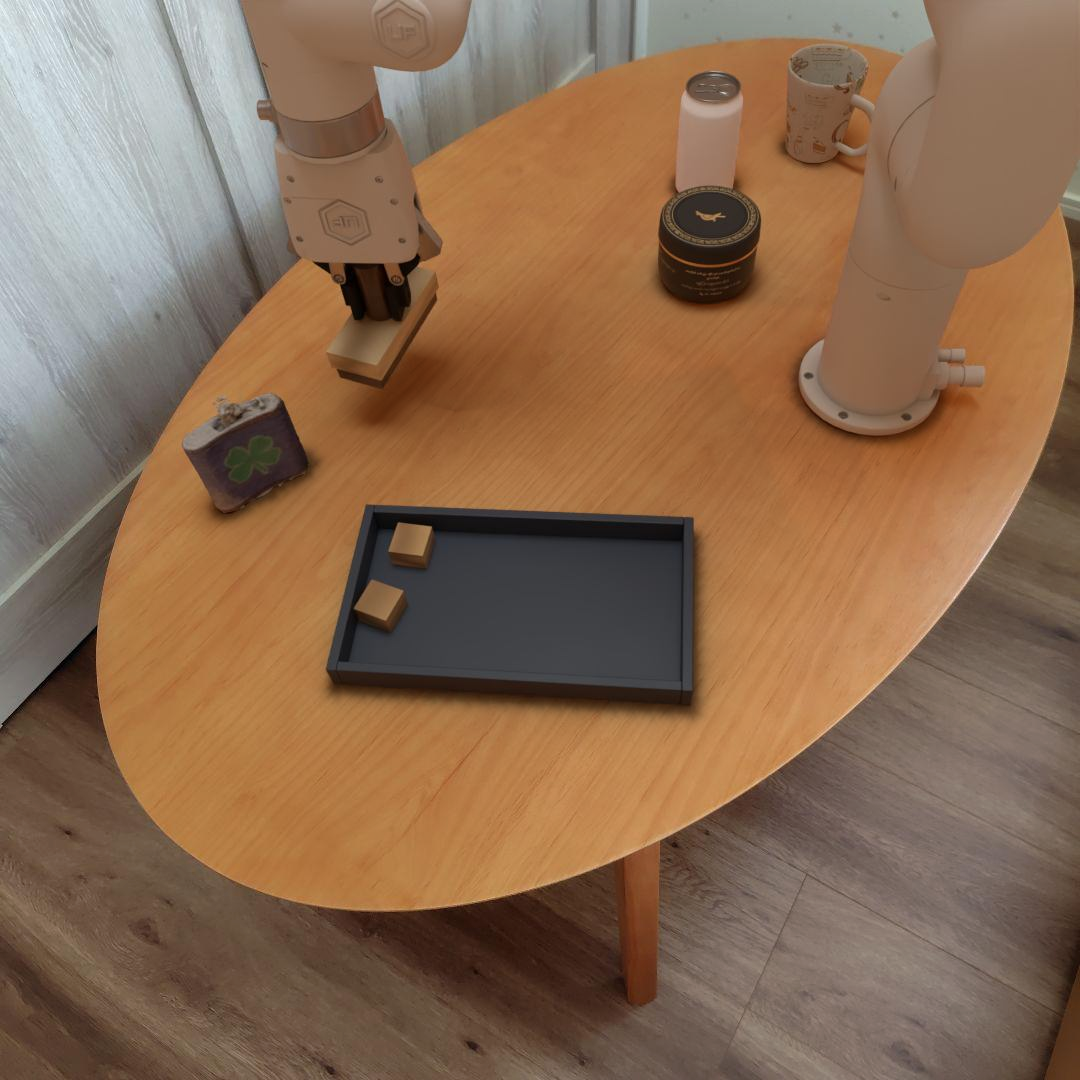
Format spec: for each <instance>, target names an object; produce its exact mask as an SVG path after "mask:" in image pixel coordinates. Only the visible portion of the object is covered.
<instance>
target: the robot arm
mask: <svg viewBox="0 0 1080 1080" xmlns="http://www.w3.org/2000/svg"><path fill="white" fill-rule="evenodd" d="M239 1H240V4H241V7H242V11H243V14H244V17H245V21H246V23H247V27H248V30H249V33H250V37H251V38H252V43H253V45H254V49H255V52H256V56H257V58H258V62H259V66H260V69H261V71H262V75H263V79H264V81H265V85H266V87H267V91H268V95H269V97H268V98H266V99H258V100H257V102H256V114H257V116H258V119H259V120H260V121H269V122H270V123H274V125H275V126H276V128H277V131H278V134H277V135H276V137H275V139H274V141H273V151H274V153H273V154H274V162H275V170H276V176H277V182H278V183H277V184H278V188H279V192H280V193H279V194H280V199H281V203H282V208H283V213H284V217H285V221H286V225H287V228H288V229H287V230H288V233H289V236H288V240H287V244H286V250H287V252H289V253H290V254H293V255H295V256H298V257H300V258H302V259H304V260H307V261H309V262H312V263H313V264H314V265H315V266H317V267H318V268H320V269H322V270H323V271H325V272H326V273H328V274H329V275H330V277H331V280H332V282H334V284H336V285H339V288H340V290H341V293H342V297H343V301H344V304H345V306H346V307H349V308H350V311H351V313H352V314H353V318H354V320H361V319H363V317H364V314H365V307H364V304H363V300H362V297H361V294H360V290H359V287H358V284H357V281H356V277H355V274H354V271H353V267H352V264H351V263H384V266H385V269H386V272H387V281H386V285H385V290H386V294H387V298H388V302H389V306H390V310H391V314H392V318H393V320H395V321H402V317H403V314H404V310H405V307H410V304H411V291H410V286H409V282H408V277H407V276H408V275H409V274H410V273H411V272H412V271H413V270H414V269H415V268H416V267H419V264H420V263H422V262H427V261H428V260H431V259H434V258H435V257H437V256H439V255H441V252H442V249H443V244H444V241H443V239H442V237H441V236H440V235H439V234H438V232H437V231H436V230H435V229H434V227H433V226H432V225H431V224H430V222H429V221H428V220H427V219H426V217H425V216H424V211H423V205H422V201H421V198H420V193H419V190H418V186H417V182H416V178H415V175H414V172H413V169H412V165H411V163H410V159H409V156H408V154H407V151H406V148H405V146H404V144H403V141H402V139H401V137H400V135H399V132H398V130H397V128H396V125H395V124H394V122H393V121H392V119H391V118H388V117H385V114H384V110H383V105H382V100H381V95H380V90H379V86H378V81H377V76H376V70H375V67H377V68H382V69H387V70H393V71H398V72H407V73H419V72H420V73H421V72H427V71H431V70H435V69H437V68H439V67H441V66H444V65H445V64H446V63H448V62H449V61H450V60H451V59H452V58H453V57H454V56H455V54H457V52H458V51H459V49H460V47H461V46H462V44H463V41H464V38H465V36H466V32H467V28H468V24H469V18H470V11H471V6H472V2H473V0H239ZM922 1H923V6H924V10H925V13H926V16H927V21H928V23H929V26H930V29H931V32H932V34H933V36H932V37H930V38H927V39H925V40H924V41H922V42H920V43H919V44H917V45H915V46H914V47H913V48H911V49H910V50H909V51H908V52H906V54H905V55H903V57H902V58H901V59H900V60H899V61H898V62H897V63H896V64H895V65H894V67H893V68H892V69H891V71H890V73H889V74H888V76H887V77H886V79H885V81H884V82H883V84H882V87H881V89H880V90H879V94H878V97H877V99H876V102H875V105H874V106H875V109H874V112H873V117H872V122H871V124H870V128H869V135H868V140H869V141H868V140H867V141H868V150H867V155H866V156H865V157H866V158H865V165H864V173H863V179H862V185H861V192H860V197H859V200H858V206H857V209H856V215H855V219H854V224H853V227H852V231H851V234H850V238H849V241H848V245H847V249H846V253H845V257H844V260H843V265H842V269H841V272H840V277H839V281H838V285H837V288H836V293H835V297H834V302H833V305H832V308H831V313H830V315H829V316H830V317H829V321H828V324H827V329H826V332H825V336H824V338H823V339H820V340H819V341H817V342H816V343H815V344H813V345H812V346H811V347H810V348H809V349H808V350H807V352H806V353H805V355H804V356H803V358H802V361H801V364H800V367H799V372H798V388H799V391H800V395H801V396H802V398H803V400H804V402H805V404H806V405H807V406H808V407H809V408H810V409H811V411H812V412H813V413H814V414H816V415H817V416H818V417H819V418H821V419H822V420H823V421H825V422H826V423H828V424H830V425H832V426H834V427H836V428H839V429H840V430H843V431H846V432H849V433H854V434H858V435H865V436H875V437H876V436H890V435H896V434H901V433H904V432H905V431H908V430H911V429H914V428H915V427H916V426H918V425H920V424H921V423H923V422H924V421H925V420H926V419H927V418H928V417H929V416H931V413H932V412H933V410H934V409H935V407H936V405H937V403H938V399H939V397H940V392H941V390H945V389H946V388H947V386H959V387H960V388H982V387H983V386H984V383H985V381H986V367H985V366H984V365H971V364H970V365H969V364H966V365H965V364H964V363H965V362H966V358H967V357H966V356H967V351H966V349H965V348H952V347H951V348H940V345H941V343H942V341H943V338H944V335H945V332H946V330H947V327H948V326H949V322H950V321H951V317H952V314H953V312H954V310H955V307H956V305H957V302H958V299H959V297H960V294H961V292H962V289H963V287H964V285H965V281H966V279H967V277H968V274H969V271H970V270H976V269H981V268H985V267H989V266H991V265H994V264H996V263H999V262H1001V261H1004V260H1005V259H1007V258H1009V257H1011V256H1013V255H1014V254H1016V253H1017V252H1019V251H1020V250H1021V249H1022V248H1024V247H1025V246H1026V245H1027V244H1029V243H1030V242H1031V241H1032V240H1033V239H1034V238H1035V237H1036V236H1037V235H1039V233H1040V232H1041V231H1042V229H1043V228H1044V227H1045V226H1046V224H1048V222H1049V220H1050V219H1051V218H1052V216H1053V214H1054V213H1055V211H1056V210H1057V208H1058V206H1059V204H1060V203H1061V200H1062V199H1063V197H1064V195H1065V193H1066V191H1067V189H1068V186H1069V185H1070V182H1071V180H1072V178H1073V175H1074V173H1075V171H1076V169H1077V166H1078V164H1079V162H1080V0H922ZM949 364H962V365H949Z"/></svg>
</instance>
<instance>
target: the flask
mask: <svg viewBox="0 0 1080 1080" xmlns="http://www.w3.org/2000/svg"><path fill="white" fill-rule="evenodd" d="M224 400H225V401H224ZM222 401H223V402H222ZM216 402H219V403H218V404H217V405H216ZM216 402H215V401H213V402H212V406H215V405H216V411H217V414H216V415H215V416H212V417H211V418H209V419H207V420H206V421H205V422H203V423H202V424H200V425H199V426H196V428H194V429H192V430H191V431H190V432H189V433H187V434H186V435H185V436H184V437H183V439H182V442H181V447H182V449H183V452H184V454H185V455H186V457H187V458H188V460H189V461H190V463H191V465H192V466H193V468H194V470H195V472H196V473H197V475H198V476H199V479H200V480H201V482H202V484H203V486H204V488H205V490H206V491H207V492H208V494H209V496H210V498H211V499H212V501H213V503H214V505H215V507H216V509H218V510H219V511H221V512H222V513H223V514H226V513H231V512H236V511H238V510H240V509H243V508H245V507H246V504H249V503H250V502H252V501H255V500H256V499H260V498H262V497H265V496H266V495H267V494H269V493H270V492H271V491H272V490H273V488H275V487H277V486H278V487H281V486H282V485H283V484H284V483H285V482H286V481H292V480H293V479H295V478H296V477H299V476H301V475H304V474H305V473H306V472H307V470H308V468H309V466H310V465H311V463H309V462H308V461H309V459H308V456H307V453H306V451H305V449H304V446H303V443H302V441H301V439H300V437H299V435H298V432H297V430H296V428H295V425H294V423H293V420H292V418H291V416H290V413H289V411H288V409H287V406H286V403H285V401H284V400H283V399H282V398H281V397H280V396H279V395H277V394H275V393H272V392H269V393H264V394H261V395H258V396H256V397H253V398H251V399H247V400H245V401H242V402H240V403H238V402H231V403H229V402H230V400H227V396H226V395H223V396H219V397H217V398H216Z"/></svg>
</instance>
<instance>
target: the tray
mask: <svg viewBox="0 0 1080 1080" xmlns="http://www.w3.org/2000/svg"><path fill="white" fill-rule="evenodd" d="M398 522H399V523H407V524H415V525H423V526H431V527H432V529H433V533H434V536H435V543H434V546H433V550H432V553H431V556H430V559H429V563H428V566H427V569H425V568H417V567H410V566H402V565H395V564H393V563H392V561H391V558H390V555H389V552H388V550H389V547H390V545H391V542H392V539H393V536H394V533H395V530H396V527H397V524H398ZM694 523H695V518H694V517H693V516H675V515H674V516H673V515H672V516H671V515H650V514H649V515H647V514H642V515H641V514H624V513H623V514H621V513H620V514H619V513H600V512H599V513H595V512H574V511H573V512H571V511H549V510H547V511H546V510H545V511H544V510H516V509H495V508H468V507H466V508H465V507H445V506H443V507H441V506H419V505H416V506H414V505H390V504H372V503H371V504H370V503H369V504H368V503H366V504H365V506H364V510H363V514H362V519H361V523H360V527H359V530H358V536H357V539H356V543H355V547H354V550H353V556H352V559H351V564H350V567H349V572H348V576H347V580H346V584H345V588H344V591H343V592H344V593H343V596H342V601H341V605H340V610H339V613H338V617H337V621H336V625H335V629H334V633H333V638H332V642H331V645H330V650H329V654H328V658H327V662H326V667H325V671H326V673H327V675H328V677H329V678H330V680H331V682H332V684H333V685H341V686H343V685H344V686H358V687H373V688H390V689H391V688H393V689H407V690H408V689H409V690H423V691H424V690H425V691H439V692H440V691H441V692H456V693H457V692H458V693H459V692H460V693H472V694H473V693H474V694H475V693H476V694H490V695H491V694H492V695H506V696H508V695H510V696H525V697H538V698H540V697H542V698H557V699H571V700H572V699H574V700H575V699H576V700H588V701H589V700H591V701H592V700H593V701H607V702H621V703H622V702H624V703H625V702H626V703H641V704H655V705H656V704H659V705H674V706H689V707H690V706H691V705H692V699H693V693H694V555H695V553H694V551H695V550H694V541H695V540H694V538H695V535H694V534H695V533H694V532H695V530H694V529H695V525H694ZM372 579H373V580H375V581H378V582H381V583H384V584H386V585H389V586H392V587H395V588H398V589H400V590H403V591H404V593H405V596H406V599H407V602H408V604H407V606H406V607H405V609H404V611H403V612H402V614H401V616H400V618H399V619H398V621H397V623H396V624H395V626H394V628H393V629H392V631H391V632H388V631H385V630H382V629H380V628H377V627H374V626H372V625H369V624H366V623H364V622H361V621H359V620H358V617H357V615H356V613H355V611H354V607H355V605H356V604H357V602H358V601H359V599H360V597H361V596H362V594H363V592H364V591H365V589H366V588H367V586H368V584H369V583H370V581H371V580H372Z"/></svg>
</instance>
